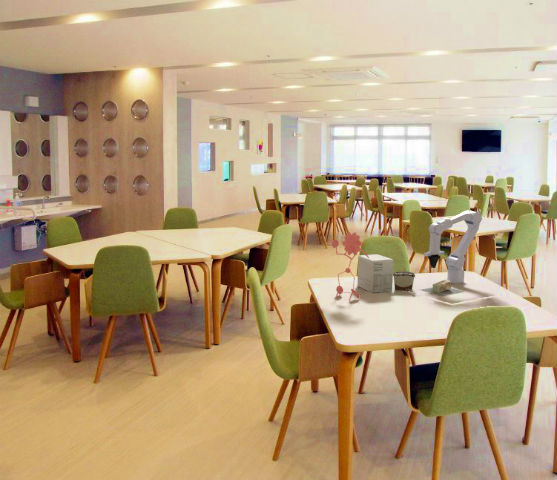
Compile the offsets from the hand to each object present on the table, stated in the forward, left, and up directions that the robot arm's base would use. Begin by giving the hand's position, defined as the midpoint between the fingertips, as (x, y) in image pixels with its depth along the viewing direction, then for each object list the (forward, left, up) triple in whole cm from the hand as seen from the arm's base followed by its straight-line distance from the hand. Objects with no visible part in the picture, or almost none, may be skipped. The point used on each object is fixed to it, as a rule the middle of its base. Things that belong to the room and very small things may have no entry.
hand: (433, 267), depth 340 cm
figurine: (+57, -5, -11) cm, 58 cm away
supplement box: (+34, -12, -11) cm, 37 cm away
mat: (+8, +14, -10) cm, 19 cm away
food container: (+22, -2, -11) cm, 24 cm away
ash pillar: (+3, +14, -6) cm, 16 cm away
